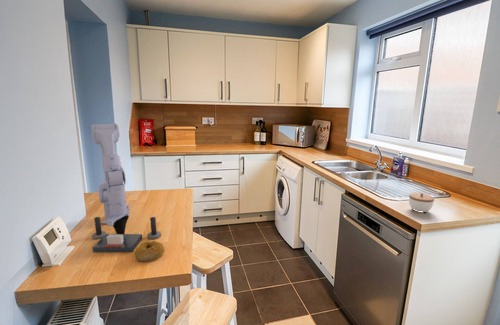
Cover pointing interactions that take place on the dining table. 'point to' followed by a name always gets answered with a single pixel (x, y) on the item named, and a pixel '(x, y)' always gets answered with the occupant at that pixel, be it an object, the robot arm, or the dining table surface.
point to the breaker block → (126, 246)
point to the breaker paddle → (115, 239)
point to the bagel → (149, 251)
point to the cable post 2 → (153, 229)
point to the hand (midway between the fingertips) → (120, 235)
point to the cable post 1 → (98, 229)
